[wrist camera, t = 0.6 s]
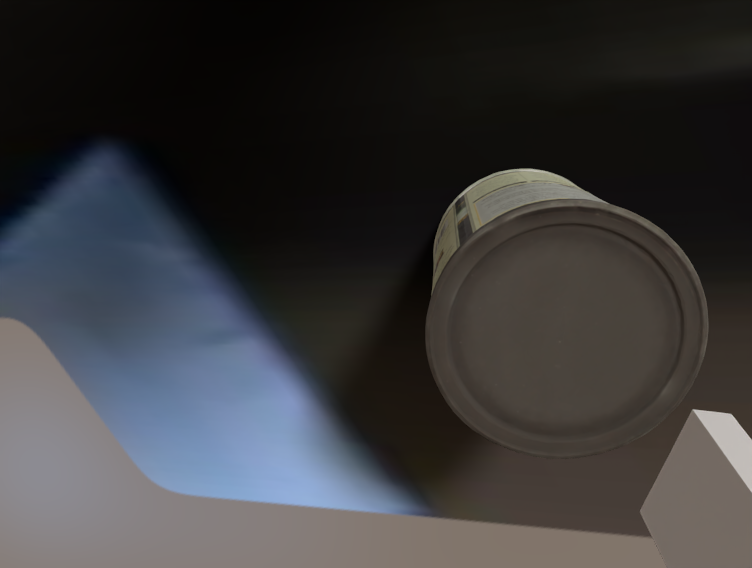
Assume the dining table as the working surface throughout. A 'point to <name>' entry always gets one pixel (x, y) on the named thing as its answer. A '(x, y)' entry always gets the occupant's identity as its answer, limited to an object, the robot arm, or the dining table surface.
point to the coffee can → (559, 317)
